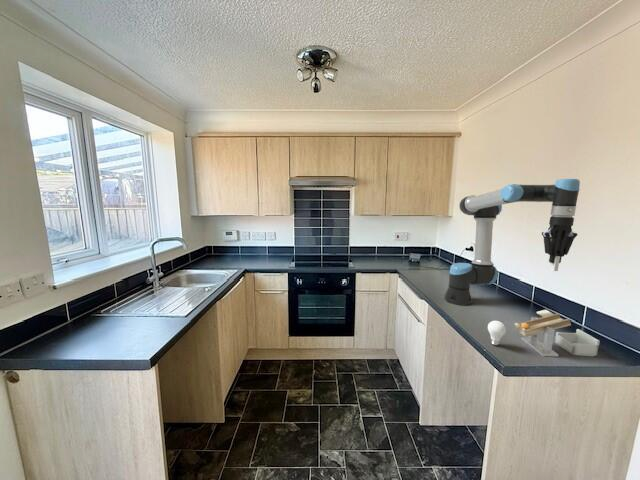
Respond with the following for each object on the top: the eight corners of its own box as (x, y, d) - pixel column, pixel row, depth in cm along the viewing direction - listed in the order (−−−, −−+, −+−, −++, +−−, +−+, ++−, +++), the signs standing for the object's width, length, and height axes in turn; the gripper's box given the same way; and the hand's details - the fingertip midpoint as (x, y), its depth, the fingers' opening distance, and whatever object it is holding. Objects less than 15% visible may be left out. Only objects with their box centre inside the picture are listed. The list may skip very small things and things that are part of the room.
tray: (554, 342, 117) (556, 327, 116) (575, 343, 117) (578, 329, 115) (572, 355, 108) (575, 339, 107) (596, 356, 107) (599, 340, 106)
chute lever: (506, 323, 123) (504, 315, 123) (546, 312, 121) (544, 304, 121) (526, 339, 110) (524, 330, 109) (571, 327, 108) (569, 318, 107)
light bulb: (485, 345, 114) (488, 322, 112) (485, 339, 120) (488, 316, 118) (503, 350, 111) (507, 326, 109) (503, 343, 116) (506, 320, 114)
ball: (519, 329, 114) (517, 322, 114) (527, 326, 114) (525, 320, 114) (524, 333, 111) (522, 326, 111) (532, 330, 111) (530, 324, 110)
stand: (521, 338, 120) (524, 315, 118) (535, 339, 120) (538, 316, 118) (542, 355, 107) (546, 329, 105) (558, 356, 107) (562, 330, 105)
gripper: (552, 216, 108) (544, 272, 112) (586, 217, 107) (576, 273, 110) (539, 215, 115) (531, 267, 119) (570, 215, 114) (562, 268, 118)
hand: (553, 270), depth 115 cm, fingers closed
